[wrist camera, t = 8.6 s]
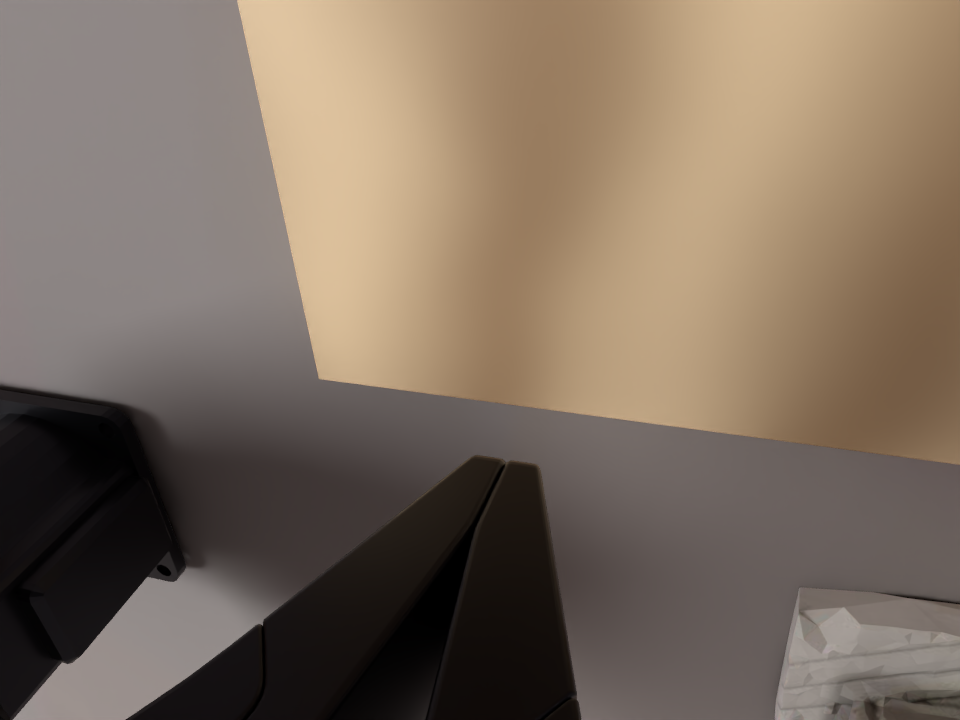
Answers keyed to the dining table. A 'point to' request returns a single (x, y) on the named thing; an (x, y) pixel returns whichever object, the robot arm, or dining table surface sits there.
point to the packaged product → (870, 658)
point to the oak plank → (630, 207)
